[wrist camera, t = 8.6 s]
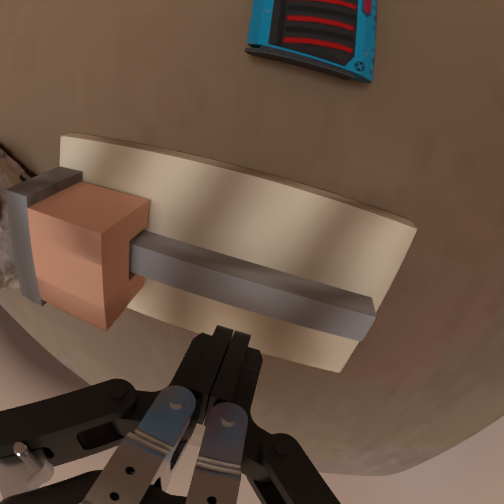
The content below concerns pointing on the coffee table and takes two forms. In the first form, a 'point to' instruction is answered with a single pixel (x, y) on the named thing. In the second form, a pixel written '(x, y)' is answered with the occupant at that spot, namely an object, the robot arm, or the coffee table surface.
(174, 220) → the rail board
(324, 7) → the handgun
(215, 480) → the robot arm
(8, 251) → the rock
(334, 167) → the coffee table surface
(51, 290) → the slider block
